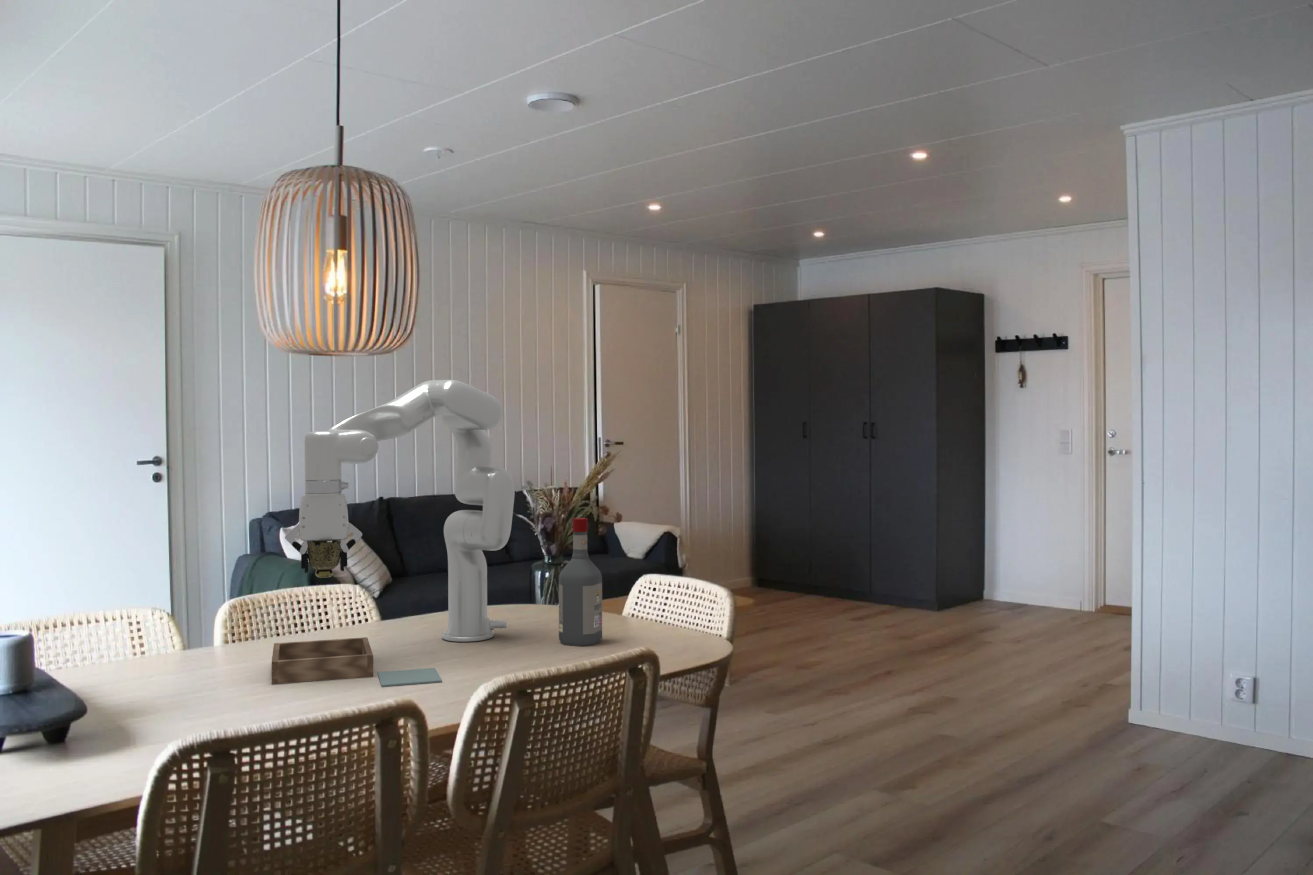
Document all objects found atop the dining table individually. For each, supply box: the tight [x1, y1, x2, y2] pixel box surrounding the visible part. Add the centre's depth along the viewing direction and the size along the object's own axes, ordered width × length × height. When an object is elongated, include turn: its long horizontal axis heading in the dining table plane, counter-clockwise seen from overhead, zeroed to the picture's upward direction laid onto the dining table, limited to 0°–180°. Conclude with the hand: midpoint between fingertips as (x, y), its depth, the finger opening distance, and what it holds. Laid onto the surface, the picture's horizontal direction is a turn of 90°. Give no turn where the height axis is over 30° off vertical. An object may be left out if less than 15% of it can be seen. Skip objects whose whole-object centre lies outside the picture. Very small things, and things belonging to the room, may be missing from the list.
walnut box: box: [271, 637, 374, 685], centre depth 227 cm, size 20×20×4 cm
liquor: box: [558, 517, 603, 647], centre depth 256 cm, size 9×9×30 cm
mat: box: [377, 667, 443, 688], centre depth 220 cm, size 12×12×1 cm
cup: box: [307, 541, 342, 578], centre depth 227 cm, size 8×7×8 cm
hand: (324, 570), depth 227 cm, fingers closed on cup, 6 cm apart
